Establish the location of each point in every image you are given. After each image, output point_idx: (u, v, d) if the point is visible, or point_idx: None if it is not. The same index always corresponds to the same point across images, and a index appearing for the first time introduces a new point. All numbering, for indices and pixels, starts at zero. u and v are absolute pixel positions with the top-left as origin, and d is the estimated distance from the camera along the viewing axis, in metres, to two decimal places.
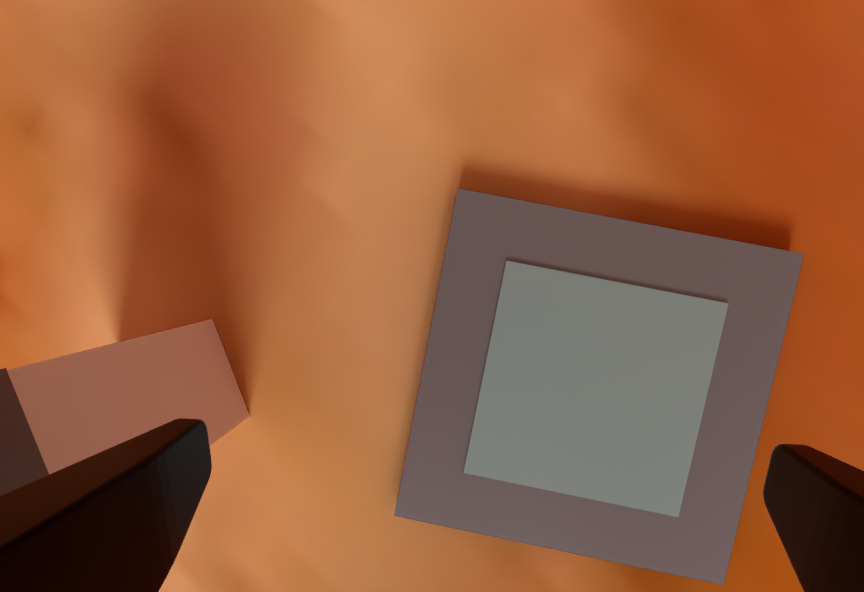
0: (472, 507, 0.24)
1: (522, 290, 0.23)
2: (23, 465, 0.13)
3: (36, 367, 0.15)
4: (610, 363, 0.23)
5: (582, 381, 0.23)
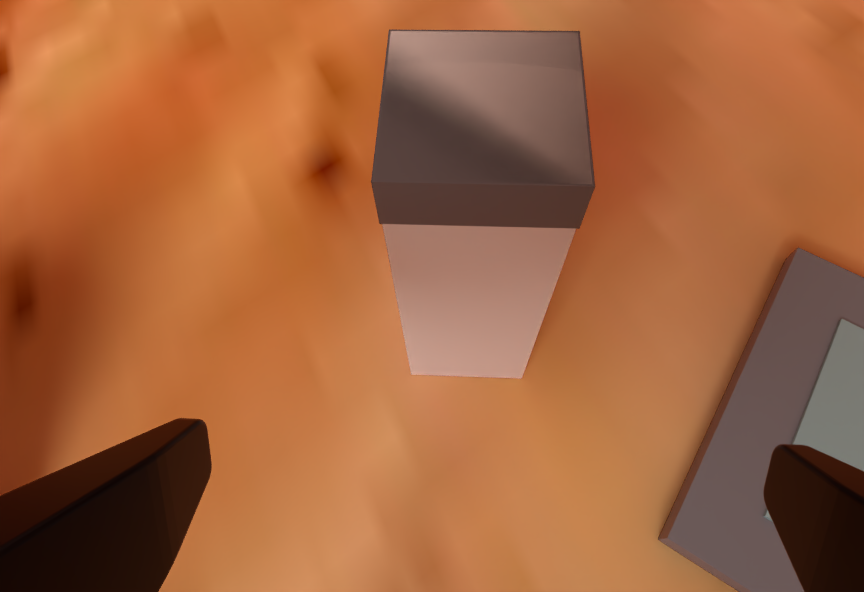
0: (767, 566, 0.19)
1: (856, 350, 0.22)
2: None
3: None
4: None
5: None
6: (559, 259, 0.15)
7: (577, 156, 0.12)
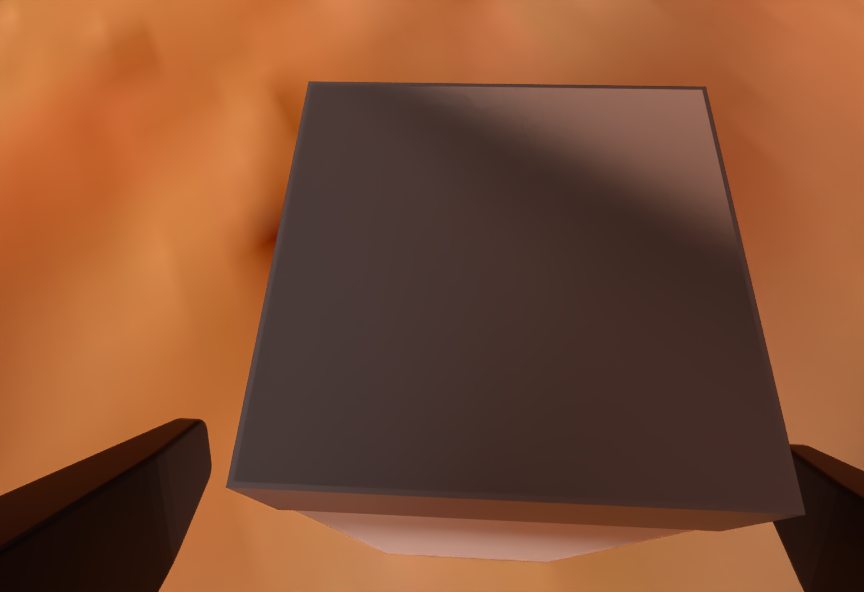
0: None
1: None
2: None
3: None
4: None
5: None
6: (653, 536, 0.07)
7: (745, 415, 0.05)
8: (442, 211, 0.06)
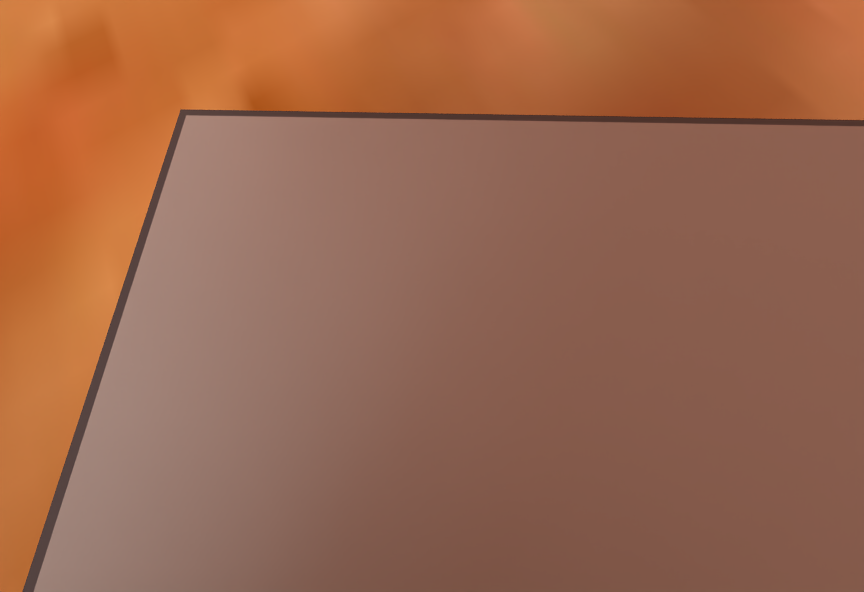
0: None
1: None
2: None
3: None
4: None
5: None
6: None
7: None
8: (414, 385, 0.03)
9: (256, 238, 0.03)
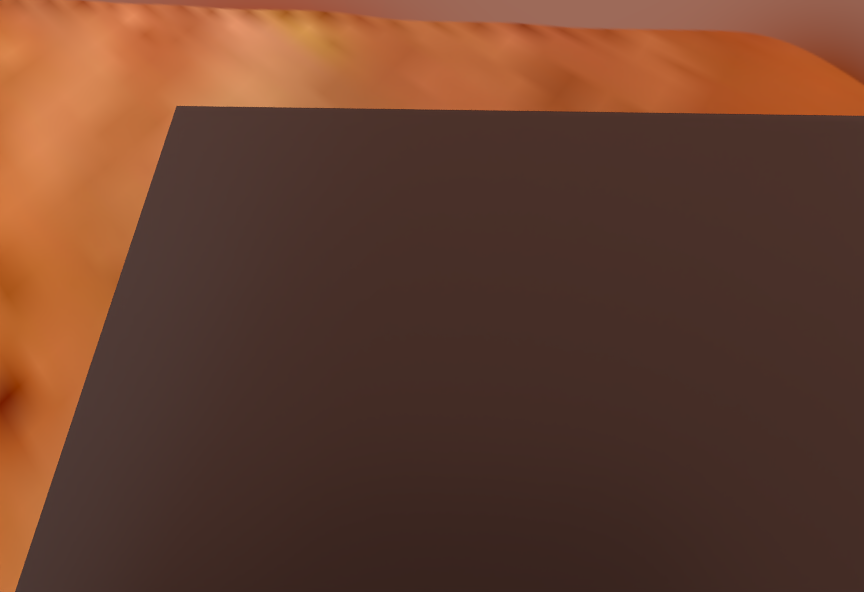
0: None
1: None
2: None
3: None
4: None
5: None
6: None
7: None
8: (407, 379, 0.03)
9: (251, 233, 0.03)
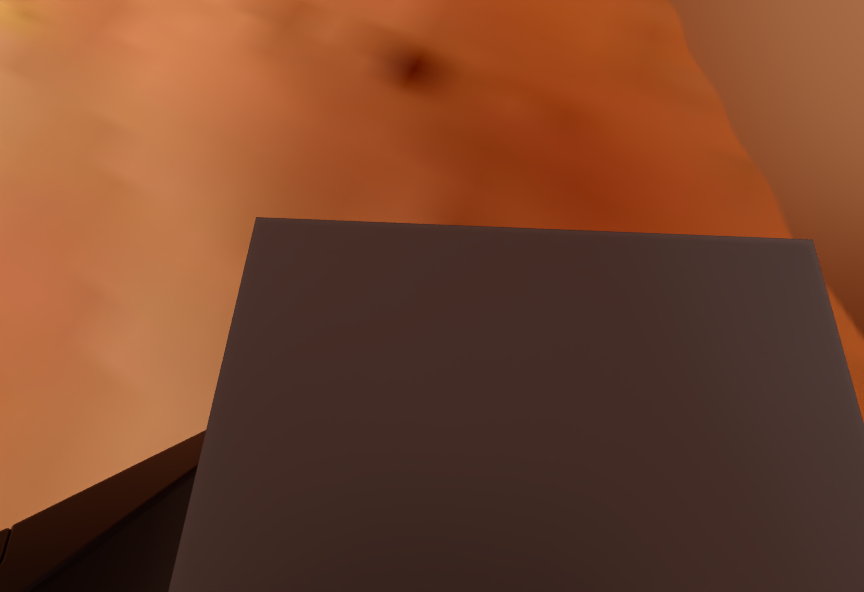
0: None
1: None
2: None
3: None
4: None
5: None
6: None
7: None
8: (439, 445, 0.04)
9: (319, 327, 0.04)
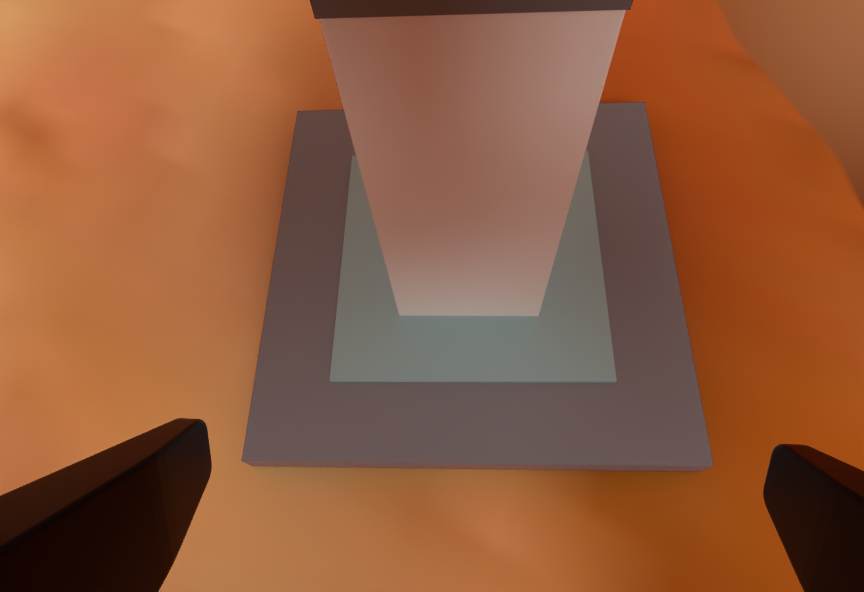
0: (347, 427, 0.18)
1: None
2: None
3: None
4: None
5: None
6: (595, 87, 0.10)
7: None
8: None
9: None
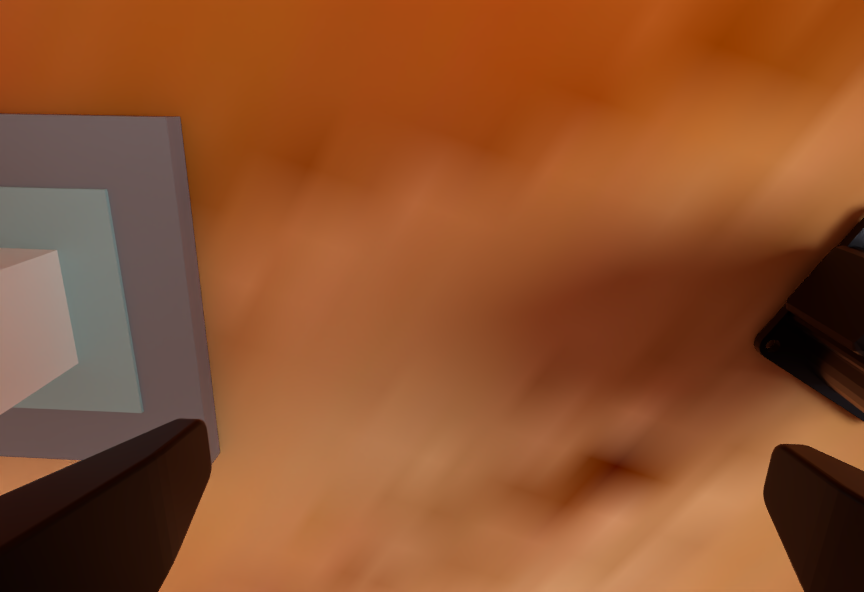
0: (176, 397, 0.23)
1: None
2: None
3: None
4: None
5: None
6: None
7: None
8: None
9: None
